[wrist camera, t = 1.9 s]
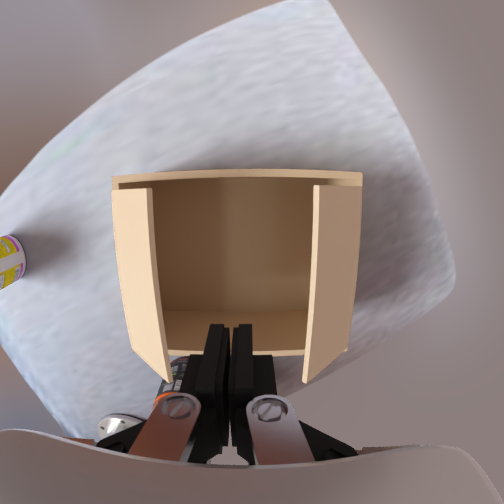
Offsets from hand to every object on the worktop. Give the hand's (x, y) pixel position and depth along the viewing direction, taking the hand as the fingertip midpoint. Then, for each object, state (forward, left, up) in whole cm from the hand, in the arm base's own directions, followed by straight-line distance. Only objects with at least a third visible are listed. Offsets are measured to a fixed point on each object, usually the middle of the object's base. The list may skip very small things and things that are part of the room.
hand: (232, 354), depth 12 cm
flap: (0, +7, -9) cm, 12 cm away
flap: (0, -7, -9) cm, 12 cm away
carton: (0, 0, -21) cm, 21 cm away
